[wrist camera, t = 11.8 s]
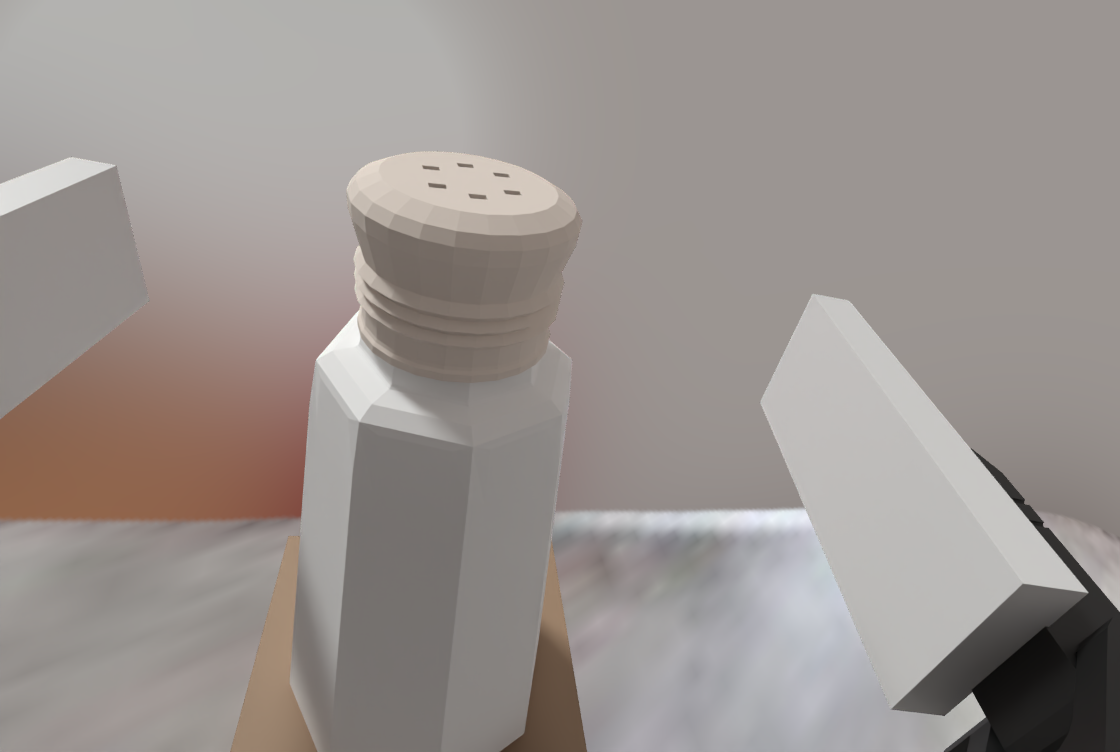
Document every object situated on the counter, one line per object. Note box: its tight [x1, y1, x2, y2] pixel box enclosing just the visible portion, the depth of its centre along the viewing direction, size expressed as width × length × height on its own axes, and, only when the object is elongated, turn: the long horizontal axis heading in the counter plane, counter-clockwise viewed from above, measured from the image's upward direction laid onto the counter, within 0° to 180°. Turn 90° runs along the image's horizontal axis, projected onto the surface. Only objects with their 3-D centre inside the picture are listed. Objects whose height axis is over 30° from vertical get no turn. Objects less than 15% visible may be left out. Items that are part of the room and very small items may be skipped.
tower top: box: [230, 536, 587, 752], centre depth 15 cm, size 7×7×5 cm
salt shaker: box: [290, 151, 582, 752], centre depth 10 cm, size 5×5×11 cm
